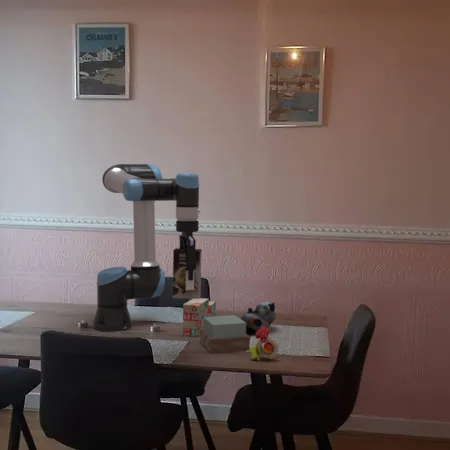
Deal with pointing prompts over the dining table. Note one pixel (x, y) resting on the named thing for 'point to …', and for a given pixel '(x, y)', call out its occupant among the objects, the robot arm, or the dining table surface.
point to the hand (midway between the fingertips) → (187, 287)
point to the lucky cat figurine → (260, 316)
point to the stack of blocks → (196, 315)
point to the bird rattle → (268, 348)
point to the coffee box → (180, 275)
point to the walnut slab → (224, 343)
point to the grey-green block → (224, 327)
